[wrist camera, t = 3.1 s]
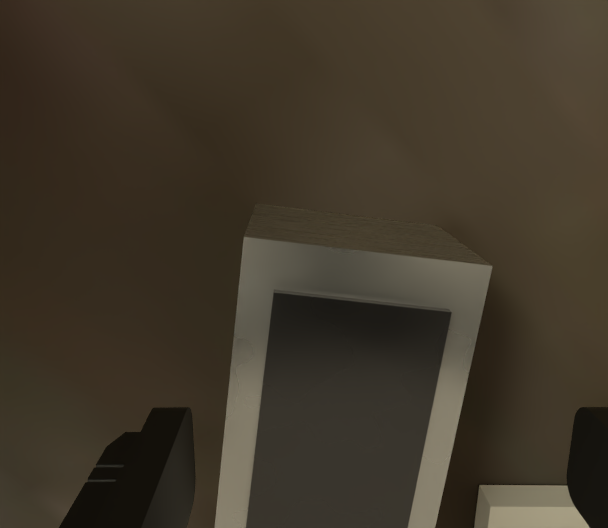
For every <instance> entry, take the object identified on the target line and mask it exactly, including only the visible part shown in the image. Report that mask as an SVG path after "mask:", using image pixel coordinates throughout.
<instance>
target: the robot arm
mask: <svg viewBox="0 0 608 528" xmlns="http://www.w3.org/2000/svg"><path fill="white" fill-rule="evenodd" d="M567 486H568V491H569V494H570V497H571V500H572V502H573V504H574V506H575V507H576V509H577V510H578V512H579V513H580V514H581V516H582V517H583V519H584V520H585V521H586V523H587V524H588V526H589V527H590V528H608V407H582V408H580V409H579V410H578V411H577V413H576V415H575V419H574V425H573V433H572V440H571V447H570V454H569V461H568V468H567ZM194 492H195V460H194V441H193V423H192V413H191V409H190V408H153V409H152V410H151V412H150V414H149V416H148V418H147V420H146V422H145V424H144V426H143V428H142V430H141V432H125V433H124V434H123V435H121V436H120V437H119V438H117V439H116V440H115V441H113V442H112V443H111V444H110V445H108V446H107V447H106V449H105V450H104V452H103V454H102V455H101V457H100V459H99V460H98V462H97V464H96V468H94V469H93V471H92V472H91V474H90V476H89V477H88V482H86V483H85V484H84V486H83V488H82V489H81V491H80V493H79V494H78V496H77V498H76V500H75V501H74V503H73V505H72V506H71V508H70V510H69V512H68V513H67V515H66V517H65V518H64V520H63V522H62V523H61V525H60V527H59V528H187V524H188V520H189V517H190V513H191V509H192V505H193V500H194Z"/></svg>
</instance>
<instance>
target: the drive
mask: <svg viewBox="0 0 608 528" xmlns="http://www.w3.org/2000/svg"><path fill="white" fill-rule="evenodd" d="M492 267H493V266H492V265H491V264H489V263H488V262H487V261H485V260H484V259H482V258H481V257H480V256H478V255H477V254H476V253H474V252H473V251H471V250H470V249H469V248H467V247H466V246H465V245H463V244H462V243H461V242H459V241H458V240H456V239H455V238H454V237H452V236H451V235H450V234H448V233H447V232H446V231H444V230H443V229H441V228H440V227H439V226H437V225H431V224H423V223H414V222H406V221H398V220H389V219H381V218H373V217H365V216H356V215H348V214H340V213H331V212H323V211H315V210H306V209H298V208H290V207H282V206H273V205H265V204H257V203H256V206H255V208H254V211H253V214H252V216H251V219H250V222H249V224H248V227H247V230H246V232H245V235H244V241H243V250H242V260H241V270H240V280H239V290H238V300H237V310H236V320H235V330H234V340H233V350H232V360H231V370H230V380H229V390H228V400H227V410H226V420H225V430H224V440H223V450H222V460H221V469H220V479H219V489H218V499H217V509H216V519H215V528H435V526H436V522H437V517H438V512H439V508H440V503H441V499H442V494H443V490H444V485H445V481H446V476H447V471H448V467H449V462H450V458H451V453H452V449H453V444H454V440H455V435H456V431H457V426H458V421H459V417H460V412H461V408H462V403H463V399H464V394H465V390H466V385H467V380H468V376H469V371H470V367H471V362H472V358H473V353H474V349H475V344H476V339H477V335H478V330H479V326H480V321H481V317H482V312H483V308H484V303H485V298H486V294H487V289H488V285H489V280H490V276H491V271H492Z"/></svg>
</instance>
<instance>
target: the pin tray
mask: <svg viewBox="0 0 608 528" xmlns="http://www.w3.org/2000/svg"><path fill="white" fill-rule="evenodd" d="M474 528H590V527H589V526H588V524H587V523H586V521H585V520H584V519H583V517H582V516H581V514H580V513H579V512H578V510H577V509H576V507H575V506H574V504H573V502H572V500H571V497H570V494H569V491H568V486H562V485H479V492H478V500H477V508H476V516H475V524H474Z"/></svg>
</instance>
